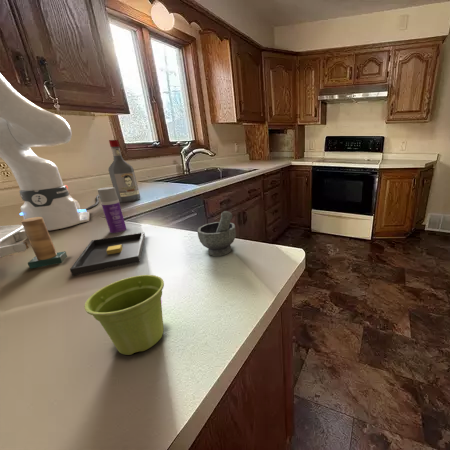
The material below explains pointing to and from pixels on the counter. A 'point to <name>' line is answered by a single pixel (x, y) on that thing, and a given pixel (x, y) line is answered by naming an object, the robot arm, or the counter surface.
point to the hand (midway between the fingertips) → (35, 239)
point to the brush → (41, 243)
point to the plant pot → (130, 312)
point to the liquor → (122, 176)
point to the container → (112, 209)
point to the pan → (99, 259)
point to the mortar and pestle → (218, 235)
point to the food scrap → (114, 249)
